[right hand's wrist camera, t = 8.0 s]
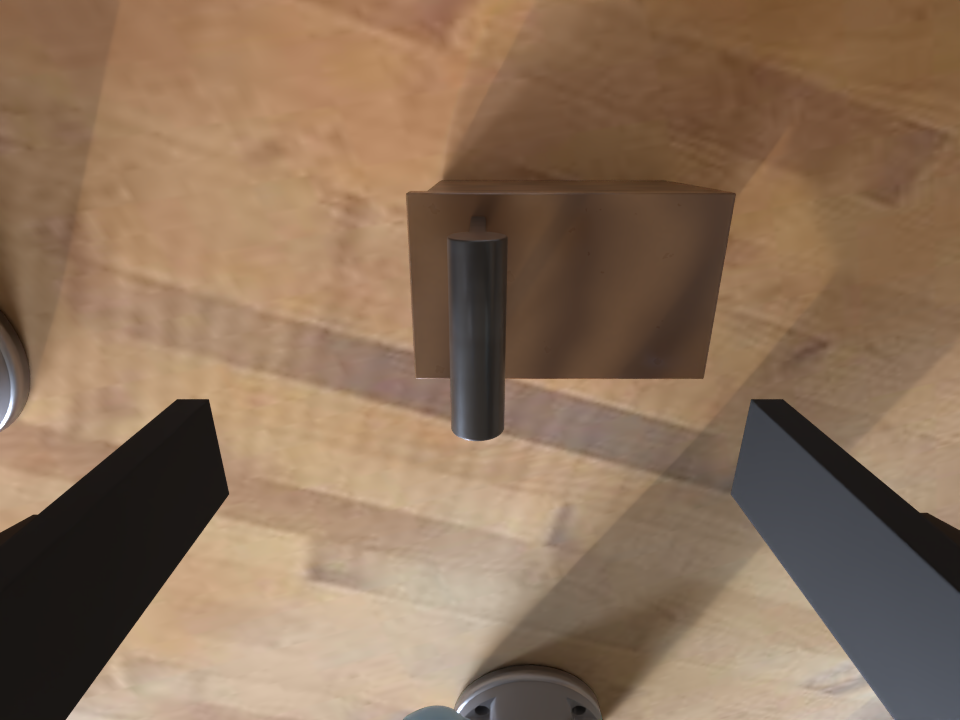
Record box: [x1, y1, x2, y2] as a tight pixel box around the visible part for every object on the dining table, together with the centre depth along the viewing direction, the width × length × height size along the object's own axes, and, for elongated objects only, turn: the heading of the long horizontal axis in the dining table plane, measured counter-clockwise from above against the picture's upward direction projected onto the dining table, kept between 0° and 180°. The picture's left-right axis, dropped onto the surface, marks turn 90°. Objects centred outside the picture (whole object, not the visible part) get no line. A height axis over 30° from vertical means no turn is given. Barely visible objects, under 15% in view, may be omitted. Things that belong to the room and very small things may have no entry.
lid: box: [406, 191, 736, 441], centre depth 24 cm, size 16×10×9 cm, turn 90°
